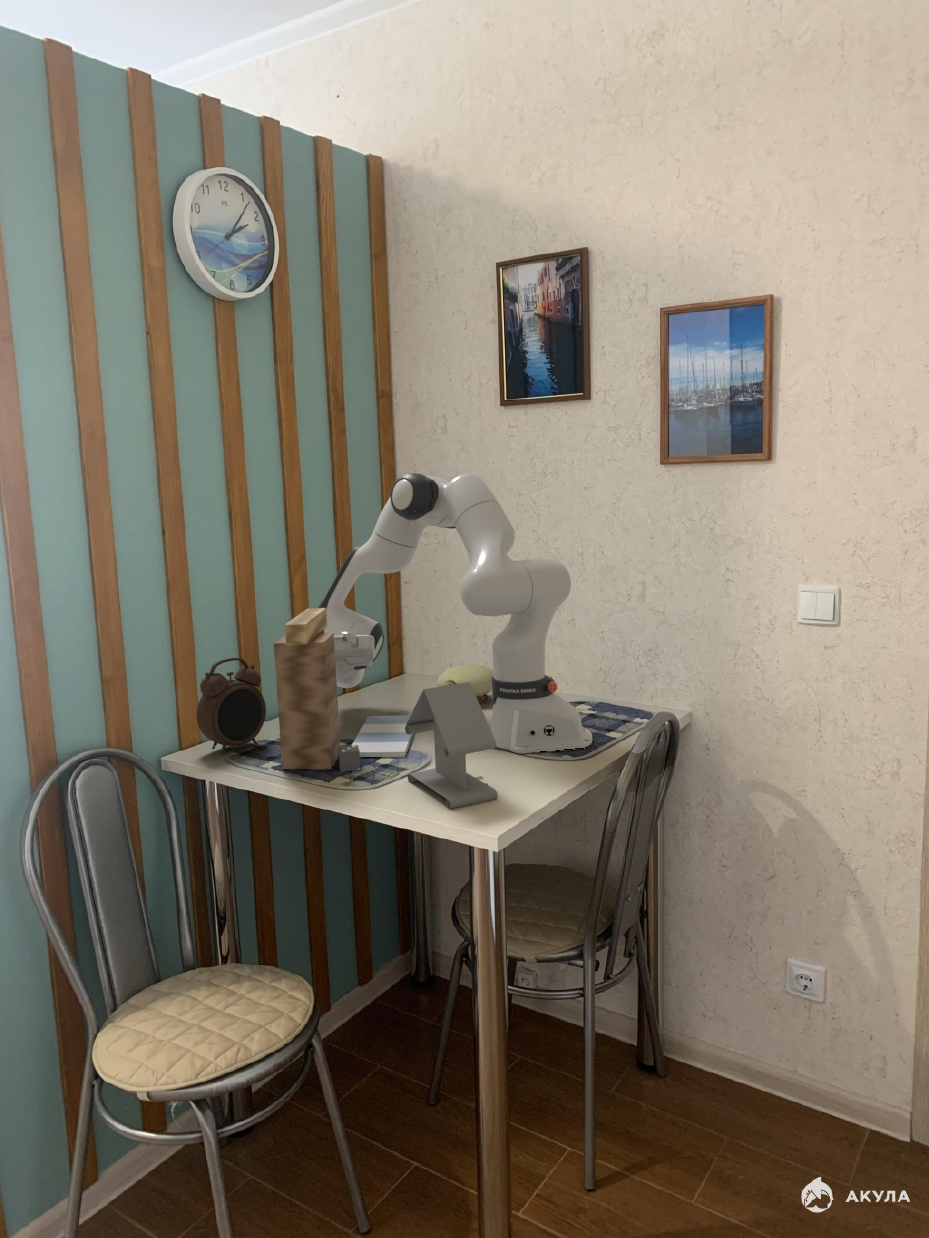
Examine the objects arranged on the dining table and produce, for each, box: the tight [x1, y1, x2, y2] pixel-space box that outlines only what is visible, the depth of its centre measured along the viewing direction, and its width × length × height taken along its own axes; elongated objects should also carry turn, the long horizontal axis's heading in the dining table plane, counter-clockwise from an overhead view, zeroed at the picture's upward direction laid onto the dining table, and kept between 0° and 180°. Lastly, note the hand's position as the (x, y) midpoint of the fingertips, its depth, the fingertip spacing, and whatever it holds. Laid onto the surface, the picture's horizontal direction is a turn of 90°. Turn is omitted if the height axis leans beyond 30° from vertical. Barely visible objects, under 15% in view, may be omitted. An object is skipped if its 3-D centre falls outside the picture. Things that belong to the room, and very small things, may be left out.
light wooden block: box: [284, 607, 327, 645], centre depth 192 cm, size 4×20×4 cm, turn 177°
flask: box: [437, 663, 493, 703], centre depth 237 cm, size 9×16×18 cm
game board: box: [350, 714, 414, 758], centre depth 209 cm, size 12×28×1 cm, turn 177°
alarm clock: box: [196, 657, 267, 755], centre depth 203 cm, size 14×7×20 cm, turn 137°
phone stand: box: [405, 682, 498, 810], centre depth 173 cm, size 18×10×20 cm, turn 28°
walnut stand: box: [273, 633, 341, 771], centre depth 192 cm, size 10×10×26 cm
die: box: [338, 745, 361, 771], centre depth 189 cm, size 4×4×4 cm
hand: (324, 635), depth 208 cm, fingers open, 8 cm apart
